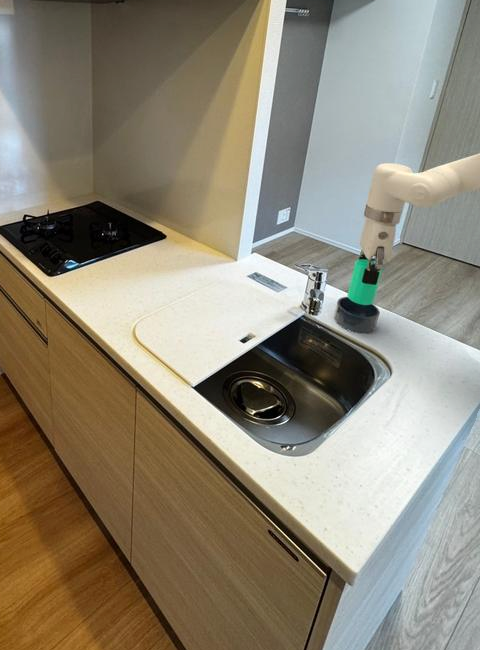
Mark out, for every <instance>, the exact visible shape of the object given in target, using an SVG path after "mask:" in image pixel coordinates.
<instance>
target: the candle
mask: <svg viewBox="0 0 480 650" xmlns="http://www.w3.org/2000/svg"><path fill="white" fill-rule="evenodd" d="M367 262H368V260H365V259H361V260H359V259H357V260H356V261H355V263H354V267H353V269H352V270H353V271H352V275H351V279H350V283H349V286H348V291H347V297H348V298H349V299H350V300H351V301H353V302H355V303H358V304H362V305H371V304H373V303H374V302H375V296H376V294H377V290H378V287H379V283H380V279H381V276H382V272H383V267H382V268H381V271H380V273H379V277H378V281H377V284H376V285H372V284H366V283H362V278H363V274H364V270H365V268H366V269H367ZM375 262H376V261H371V265H372V264H375Z"/></svg>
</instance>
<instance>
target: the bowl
mask: <svg viewBox="0 0 480 650" xmlns="http://www.w3.org/2000/svg"><path fill="white" fill-rule="evenodd" d="M379 317H380V310H379V308H378V307H377V306H376V305H375V304H373V303H372V304H371V305H362V304H358V303H355V302H353V301H351V300H350V299H349V298H348V296H343V297H340V298H338V299H337V303H336V306H335V310H334V315H333V319H334V318H335V319H334V321H335V320H336V321H337V322H338V323H337V322H336V321H335V322H336V323H337V325H339V324H340V325H341V326H342V327H341V326H340V325H339V326H340V327H341V328H343V327H345V328H346V329H345V328H344V329H345V330H347V329H349V330H351V331H350V332H352V331H353V332H352V333H355V332H357V333H356V334H361V333H362V335H364V334H363V333H368V334H371V333H374V332H375V330H376V327H377V324H378V321H379ZM349 330H348V331H349Z"/></svg>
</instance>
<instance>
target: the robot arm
mask: <svg viewBox="0 0 480 650" xmlns="http://www.w3.org/2000/svg"><path fill="white" fill-rule="evenodd" d="M371 179H372V180H371V183H370V187H369V191H368V195H367V199H366V204H365V207H364V212H363V216H362V217H363V218H364V219H365V222H364V224H363V228H362V231H361V237H360V243H359V245H360V248H361V250H360V253H359V257H358V260H361V259H365V260H368V262H367V269H366V268H365V270H364V274H363V278H362V283H366V284H372V285H376V284H377V281H378V277H379V273H380V271H381V268H382V269H383V267H384V262H385V263H389V262H390V261H391V258H392V253H393V248H394V244H395V240H396V239H395V238H396V231H397V225H399V224H400V222H401V218H402V215H403V211H404V208H405V204H406V203H407V204H410V205H412V206H414V207H419V208H430V207H434V206H436V205H438V204H440V203H442V202H444V201H445V200H447V199H449V198H451V197H452V198H453V197H455V196H458V195H462V194H465V193H469V192H473V191H476V190H480V152H479V153H477V154H474V155H470V156H466V157H463V158H461V159H458V160H454V161H451V162H448V163H445V164H441V165H439V166H436V167H435V166H434V167H432V168H430V169H427V170H425V171H423V172H422V171H421V172H414V171H413V170H412V168H411V167H409V166H407V165H404V164H401V163H400V164H399V163H394V162H393V163H391V162H386V163H380V164H378V165H376V167H375V168H374V171H373V174H372V178H371ZM374 257H375V258H374ZM371 261H373V262H375V264H372V265H371Z"/></svg>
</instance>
